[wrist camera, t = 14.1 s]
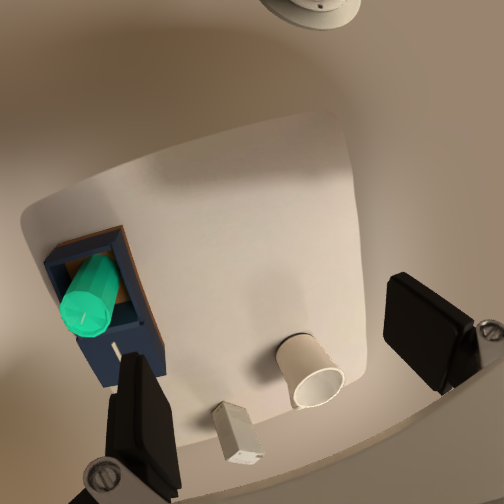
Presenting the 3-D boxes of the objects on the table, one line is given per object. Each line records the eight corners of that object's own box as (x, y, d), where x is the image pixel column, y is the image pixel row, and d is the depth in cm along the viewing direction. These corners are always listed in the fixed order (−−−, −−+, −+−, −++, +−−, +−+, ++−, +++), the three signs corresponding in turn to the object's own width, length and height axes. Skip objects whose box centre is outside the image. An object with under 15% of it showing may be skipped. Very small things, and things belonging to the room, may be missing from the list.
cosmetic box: (210, 413, 55) (222, 462, 44) (223, 399, 54) (238, 449, 43) (235, 420, 57) (250, 467, 46) (248, 407, 57) (266, 454, 46)
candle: (114, 249, 38) (97, 292, 27) (126, 289, 40) (116, 342, 29) (74, 258, 37) (46, 303, 26) (87, 297, 39) (68, 349, 28)
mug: (289, 324, 51) (315, 362, 42) (327, 337, 55) (354, 371, 46) (258, 371, 54) (275, 412, 44) (296, 380, 57) (316, 417, 48)
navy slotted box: (58, 244, 37) (40, 265, 30) (122, 224, 39) (113, 243, 32) (108, 357, 45) (103, 389, 38) (164, 344, 47) (166, 376, 40)
